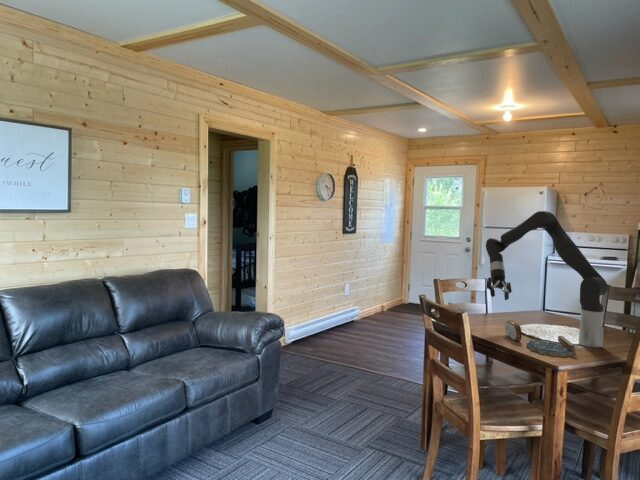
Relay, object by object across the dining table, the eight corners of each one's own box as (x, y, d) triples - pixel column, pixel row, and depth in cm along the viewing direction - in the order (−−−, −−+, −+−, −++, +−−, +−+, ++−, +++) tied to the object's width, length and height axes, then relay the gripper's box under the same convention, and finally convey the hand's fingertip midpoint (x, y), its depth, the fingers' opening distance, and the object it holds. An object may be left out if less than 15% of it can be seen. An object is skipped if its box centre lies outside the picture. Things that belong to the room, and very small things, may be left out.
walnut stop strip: (562, 341, 224) (562, 336, 224) (574, 350, 208) (574, 345, 208) (557, 340, 224) (558, 335, 224) (569, 350, 209) (570, 345, 208)
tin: (521, 342, 227) (522, 325, 226) (515, 342, 227) (516, 325, 227) (510, 334, 242) (510, 318, 242) (503, 334, 242) (504, 318, 242)
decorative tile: (517, 346, 221) (517, 341, 221) (547, 343, 229) (547, 338, 229) (553, 359, 203) (553, 354, 203) (584, 355, 211) (585, 350, 211)
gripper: (490, 265, 256) (493, 293, 248) (512, 271, 259) (515, 298, 252) (482, 270, 262) (484, 297, 255) (503, 276, 266) (506, 302, 258)
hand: (499, 298), depth 253 cm, fingers open, 8 cm apart
